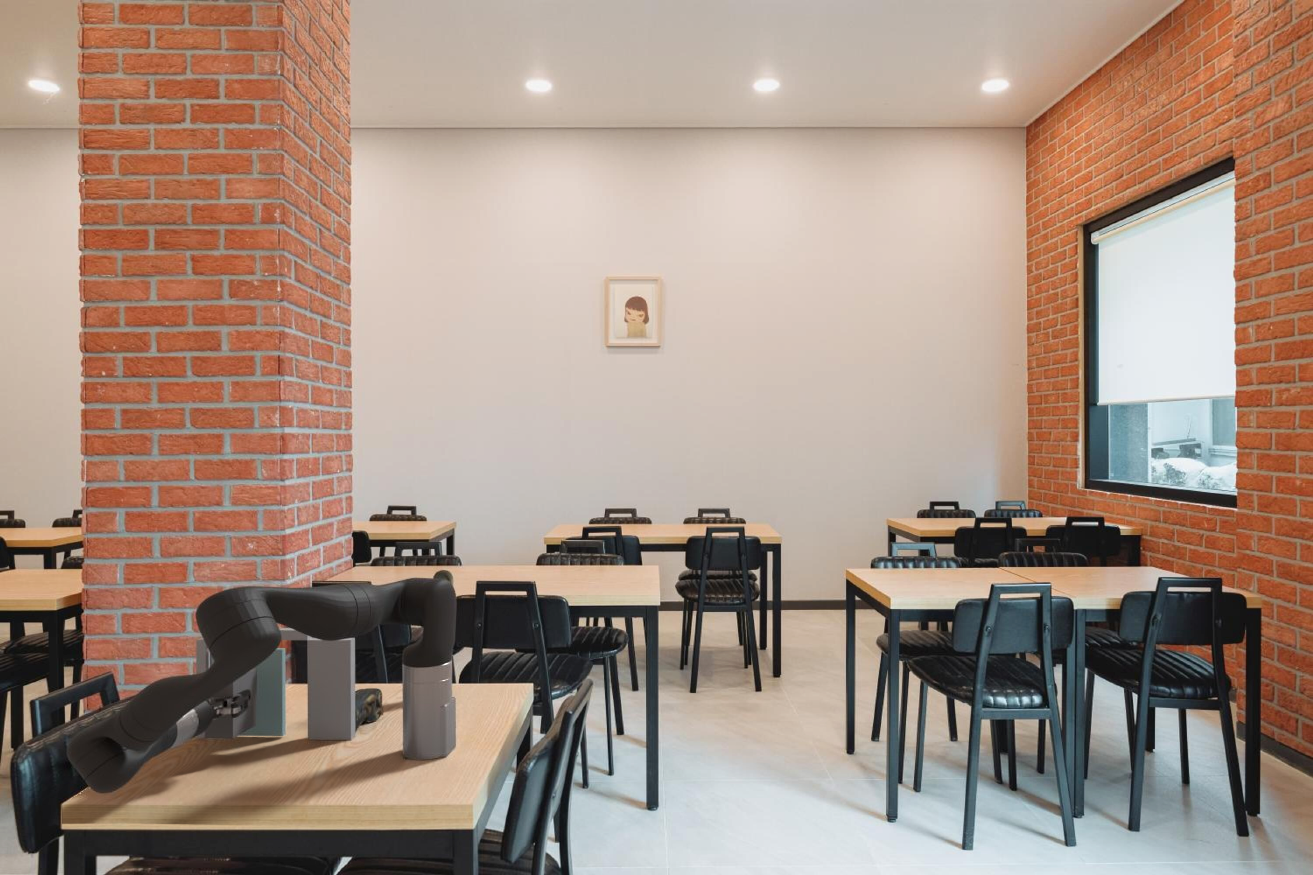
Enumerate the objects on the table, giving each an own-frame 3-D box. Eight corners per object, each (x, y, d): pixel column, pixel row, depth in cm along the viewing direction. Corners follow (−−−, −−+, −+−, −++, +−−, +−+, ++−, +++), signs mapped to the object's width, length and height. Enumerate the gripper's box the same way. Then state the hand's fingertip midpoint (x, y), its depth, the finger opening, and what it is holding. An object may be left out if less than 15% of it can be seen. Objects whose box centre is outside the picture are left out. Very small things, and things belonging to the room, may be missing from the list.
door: (288, 731, 166) (288, 646, 167) (282, 735, 164) (282, 649, 164) (215, 731, 167) (215, 646, 168) (208, 735, 165) (208, 649, 165)
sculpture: (365, 733, 166) (365, 700, 166) (334, 734, 166) (334, 700, 166) (385, 714, 179) (385, 683, 179) (355, 715, 179) (355, 683, 179)
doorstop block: (256, 724, 159) (256, 668, 159) (232, 738, 151) (233, 679, 151) (229, 724, 159) (230, 668, 159) (204, 738, 151) (204, 679, 151)
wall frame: (355, 736, 164) (354, 628, 165) (350, 739, 162) (350, 630, 163) (202, 734, 167) (202, 628, 167) (196, 738, 165) (196, 630, 165)
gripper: (135, 744, 139) (197, 713, 156) (215, 744, 138) (269, 714, 155) (136, 700, 139) (197, 674, 156) (215, 700, 138) (269, 674, 155)
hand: (233, 694), depth 156 cm, fingers closed on doorstop block, 5 cm apart
